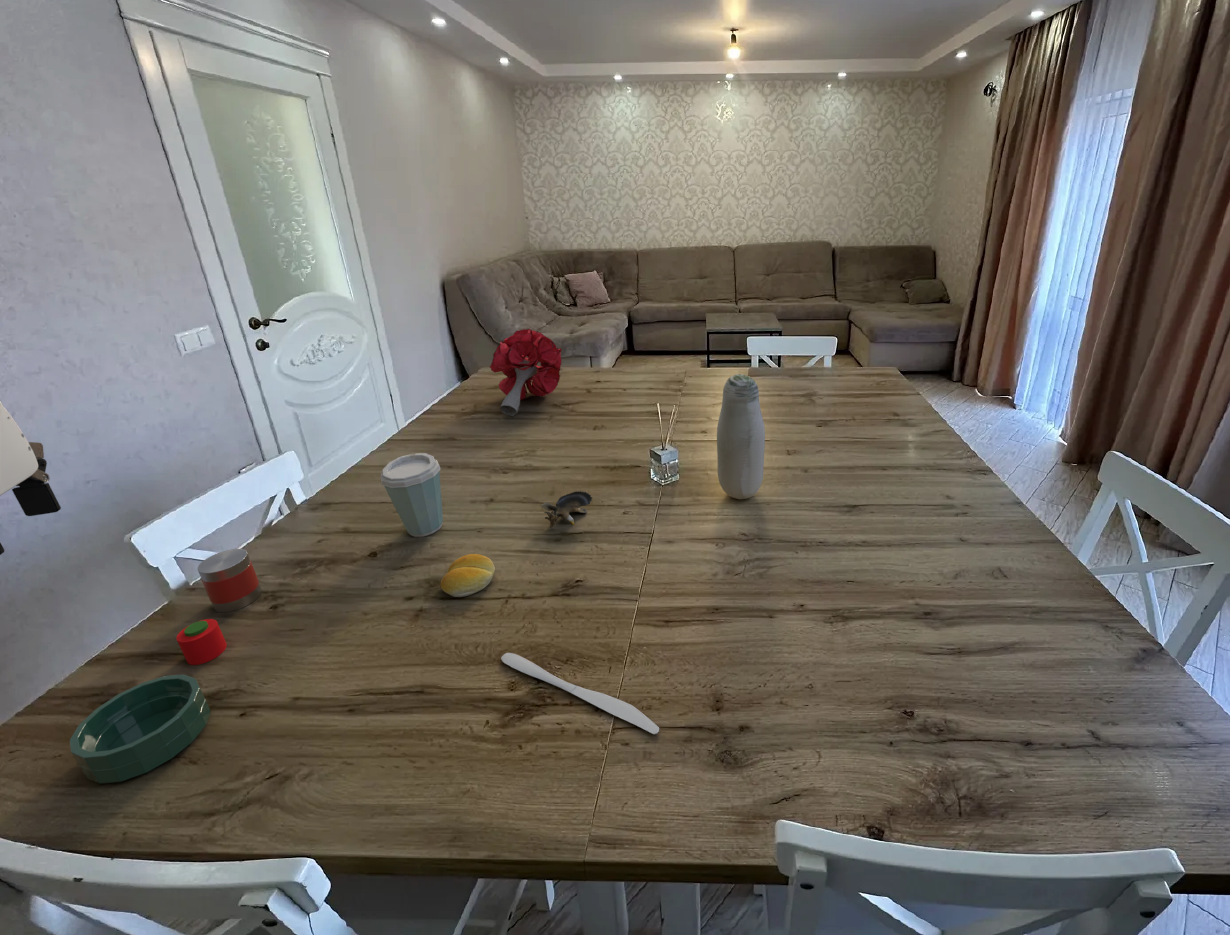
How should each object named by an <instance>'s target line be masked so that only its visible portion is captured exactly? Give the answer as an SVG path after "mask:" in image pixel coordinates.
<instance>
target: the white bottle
mask: <svg viewBox="0 0 1230 935" xmlns="http://www.w3.org/2000/svg"><path fill="white" fill-rule="evenodd" d="M718 416H719V417H718V421H717V426H716V456H717V457H716V458H717V459H716V460H717V461H716V462H717V479H718V483H719V485H720V487H721V489H722V491H723V492H724V493H725V494H726V495H727V496H729V497H731V498H732V499H736V500H746V499H749V498H752V497H754V496H755V495H756V494H758V492H759V490H760V488H761V486H762V484H763V481H764V472H765V471H764V469H765V467H764V466H765V448H766V429H765V422H764V418H763V414H762V410H761V403H760V391H759V386H758V383H757V382H756V380H755V379H753V377H751V376H749V375H746V374H743V373H737V374H734V375H732V376H730V377H728V379H726V380H725V383H724V385H723V389H722V401H721V408H720V412H719V415H718Z"/></svg>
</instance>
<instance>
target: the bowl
mask: <svg viewBox="0 0 1230 935" xmlns="http://www.w3.org/2000/svg"><path fill="white" fill-rule="evenodd" d="M211 713H212V712H211V708H210V705H209V703H208V701H207V699H206V697H205V695H204V693H203V691H202V688H201V686H200V684H199V682H198V679H197V678H195V677H194V676H190V675H187V674H183V673H182V674H171V675H163V676H161V677H157V678H154V679H150V680H146V681H143V682H141V683H139V684H137V685H134V686H132V687H131V688H128V689H126V690H124V691H121V692H120V693H118V694H116V695H115V696H113V697H112V698H110V699H109V700H107V701H106V702H104V703H102V704H101V705H100V706H98V707H96V709H94V710H93V711H92V712H91V713H90V714H89V715H88V716H87V717H86V718H84V720H82V721H81V722H80V723H79V724H78V725H77V727H76V729H75V731H74V733H73V734H72V736H71V738H70V739H69V747H70V753H71V754H72V757H73V758H74V759H75V761H76V763H77V765H78V766H79V768H80V769H81V770H82V773H83V774H84V776H85V777H86V778H87V779H88V780H91V781H93V782H95V783H97V784H101V785H102V784H111V783H121V782H124V781H126V780H130V779H133V778H135V777H138V776H141V775H144V774H146V773H148V772H150V771H152V770H154V769H156V768H157V767H159V766H161V765H163V764H164V763H166V762H168V761H170V760H171V759H173V758H174V757H176V756H177V755H178V754H179V753H180V752H181V751H183V750H185V748H187V747H188V746H189V745H190V744H193V742H194V741H195V739H196V738H197V737H198V736H199V734H201V732H202V731H203V730H204V728H205V727H206V726H207V724H208V721H209V718H210V715H211Z"/></svg>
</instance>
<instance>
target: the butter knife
mask: <svg viewBox="0 0 1230 935" xmlns="http://www.w3.org/2000/svg"><path fill="white" fill-rule="evenodd" d="M500 659H501V661H502V663H504V664H505V665H507V666H509V667H511V668H512V669H515V670H517V671H519V672H521V673H523V674H526V675H528V676H530V677H533V678H536V679H538V680H541V681H544V682H546V683H548V684H551V685H552V686H555V687H558V688H560V689H562V690H564V691H566V692H567V693H570V694H572V695H574V696H576V697H578V698H580V699H581V700H584V701H585V702H587V703H589V704H591V705H593V706H595V707H597V708H599V709H600V710H603V711H605V712H607V713H609V714H610V715H613V716H615V717H618V718H620V719H622V720H624V721H626V722H628V723H630V724H633V725H635V726H637V727H638V728H641V729H643V730H645V731H646V732H649V733H650V734H652V735H657V734H659V732H660V727H659V726H658V725H657V724H656V723H655V722H654V721H653V720H651V719H650V718H649V717H647V715H645V714H644V713H643V712H642V711H640V710H639V709H638V708H637V707H635V706H634V705H632V704H630V703H629V702H626V701H624V700H621V699H619V698H616V697H614V696H611V695H608V694H606V693H603V692H599V691H596V690H592V689H588V688H584V687H581V686H579V685H576V684H574V683H570V682H568V681H566V680H564V679H562V678H559V677H557V676H555V675H554V674H552V673H550V672H548V670H545V669H544V668H542V667H541V666H539V665H538V664H536V663H534V662H532V661H530V660H528V659H527V658H525V657H523V656H521V655H518V654H516V653H513V652H506V653H504V654H503V655H502V656H501V657H500Z"/></svg>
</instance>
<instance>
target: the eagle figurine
mask: <svg viewBox="0 0 1230 935" xmlns="http://www.w3.org/2000/svg"><path fill="white" fill-rule="evenodd" d="M592 501H593V497H592V496H591V494H590V493H588V492H586V491H581V490H580V491H579V490H578V491H577V490H576V491H573V492H570V493H567V494H565V495H562V496H560V497H559V498H558V499H557V502H556V503H555V504H551V503H550V502H544V503H542V504H541V505H540V506H541V508H542V509H544V510H545V511H543V513H544V514H547V516H545V517H544V519H545V520H547V521H549V527H550V528H553V527H554V526H555V524H556V522H557V520H558V519H560V518H562V519H564V520H566V521H568V522H569V523H570V524H571V525H572V526H574V525H575V522H574V521H575V520H574V518H573V517H572V516H571V515H570V513H580V514H581V513H582V514H587V513H588V510H587V509H586V508H583V507H585V506H588V505H590V504H591V502H592ZM550 511H551V512H550Z"/></svg>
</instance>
